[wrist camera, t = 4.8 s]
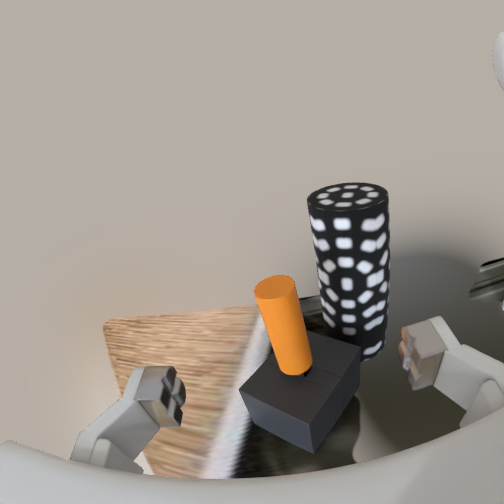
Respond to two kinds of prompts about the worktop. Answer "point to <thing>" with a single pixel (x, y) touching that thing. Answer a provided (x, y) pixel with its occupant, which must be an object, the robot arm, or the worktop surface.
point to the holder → (304, 393)
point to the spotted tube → (353, 262)
